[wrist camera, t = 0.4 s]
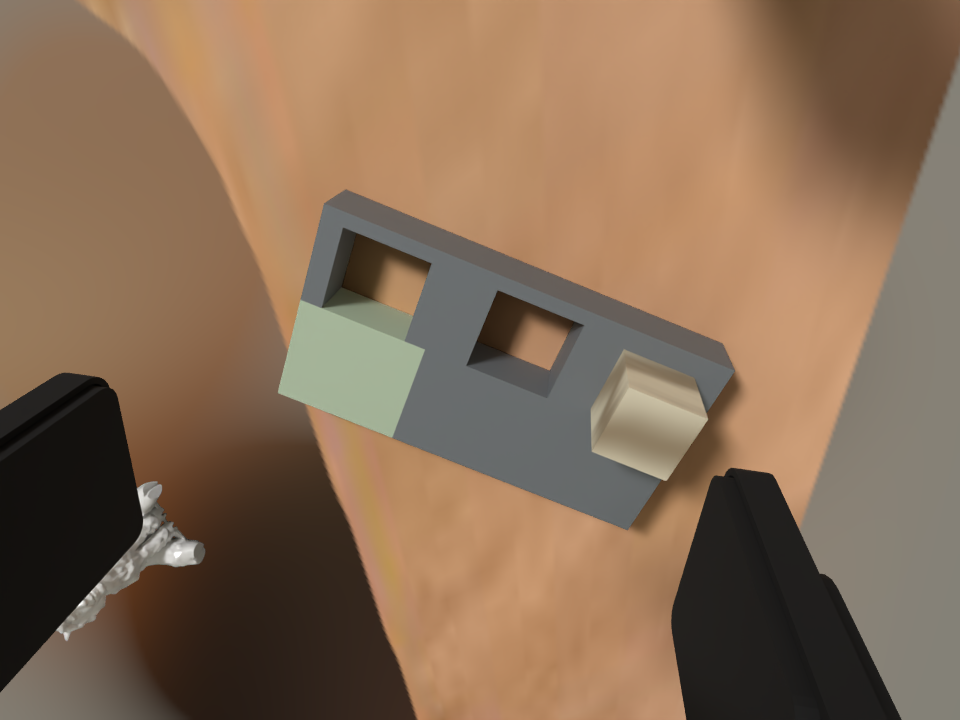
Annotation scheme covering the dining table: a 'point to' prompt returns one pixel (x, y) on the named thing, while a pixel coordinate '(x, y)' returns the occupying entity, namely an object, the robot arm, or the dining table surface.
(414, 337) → the board
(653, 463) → the maple block
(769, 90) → the dining table surface
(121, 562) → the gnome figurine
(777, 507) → the robot arm
